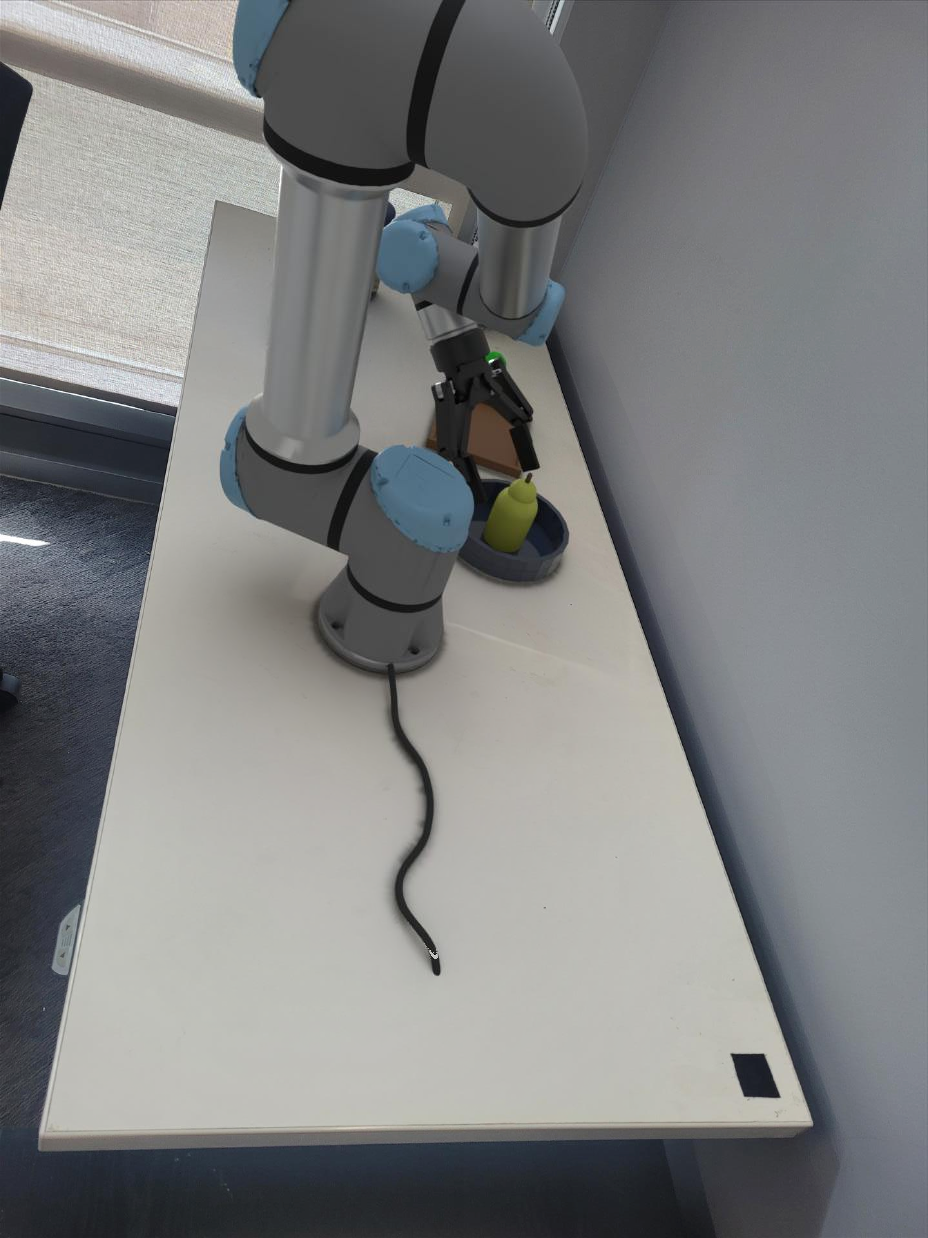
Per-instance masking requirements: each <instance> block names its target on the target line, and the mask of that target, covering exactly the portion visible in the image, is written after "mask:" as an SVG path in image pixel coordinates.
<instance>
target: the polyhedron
mask: <svg viewBox="0 0 928 1238" xmlns="http://www.w3.org/2000/svg"><path fill="white" fill-rule="evenodd" d="M498 357H501V358H502V359H503V362H504V364H505V367H506V368H507V361H506V359H505V357H504V355H502V353H500V352H498V351H496V350H490V353H489V355H487V356H485V358H486V360H487V361H490V360H493V359H496V358H498Z"/></svg>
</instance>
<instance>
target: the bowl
mask: <svg viewBox="0 0 928 1238" xmlns="http://www.w3.org/2000/svg"><path fill="white" fill-rule="evenodd" d="M481 481H482V484H483V487H484V490H485V493H486V495H487V498H488V501H487V502H486V503H482V504H477V505H474V511H473V516H472V519H471V522H470V525H469V529H468V537H467V539H466V541H465V543H464V544H463V546H462V547H461V548H460V550H459V553H458V556H459V557H460V558H461V559H462V560H464V561H465V562H466V563H467V564H469V565H470V566H471V567H473V568H475V569H476V570H478V571H480V572H482V573H484V574H486V575H488V576H490V577H493V578H496V579H500V580H502V581H503V580H504V581H509V582H517V583H518V582H519V583H526V582H527V583H529V582H534V581H539V580H541V579H545V578H546V577H547V576H549V575H550V574H551V573H553V572H554V571H555V570H556V567H557V566H558V564H559V562H560V561H561V559H562V557H563V555H564V553H565V551H566V549H567V547H568V545H569V543H570V531H569V527H568V523H567V521H566V519H565V518H564V516H563V515H562V513H561V512H560V510H558V509H557V508H556V506H555V505H554V504H553V503H552V502H551V501H549V500H548V499H547V498H546V497H544V496H542V495H541V494H540V493H538V492H537V496H536V499H537V504H538V510H537V514H536V516H535V518H534V520H533V523H532V525H531V527H530V529H529V531H528V533H527V535H526V538H525V540H524V542H523V544H522V546H521V548H520V549H519V550H518V551H515V552H502V551H499V550H497V549H495V548H493V547H492V546H490V545H489V544H488V543H487V542H486V541H485V539H484V537H483V530H484V528H485V525H486V523H487V520H488V518H489V516H490V513H491V511H492V508H493V506H494V503H495V501H496V499H497V497H498V495H499V493H500V492H501V491H502V490H504V489H505V488H507V487H509V486H510V485H511V483H512V482H513V481H511V480H505V479H501V478H481Z"/></svg>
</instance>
